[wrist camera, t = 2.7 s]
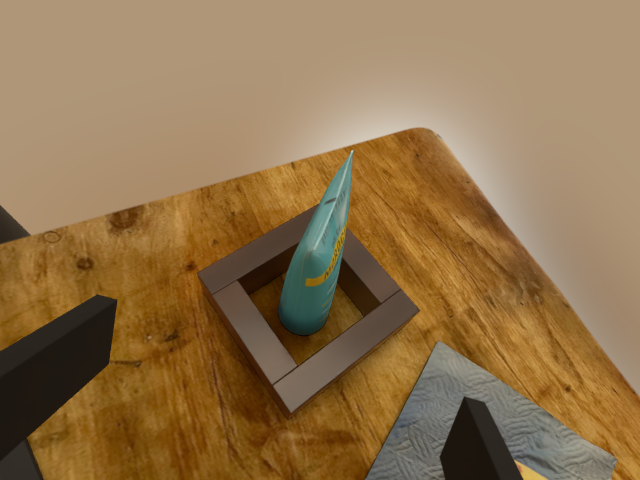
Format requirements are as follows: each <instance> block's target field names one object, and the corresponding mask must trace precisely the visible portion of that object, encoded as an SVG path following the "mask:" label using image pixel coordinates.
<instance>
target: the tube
mask: <svg viewBox="0 0 640 480" xmlns="http://www.w3.org/2000/svg"><path fill="white" fill-rule="evenodd" d="M352 155H353V150H352V151H351V154H350V156H349V157H348V158H347V160H346V161H345V162H344V164H343V165H342V167H341V168H340V169H339V171H338V172H337V174H336V175H335V177H334V178H333V180H332V181H331V183H330V185H329V187H328V188H327V190H326V192H325V194H324V196H323V198H322V200H321V201H320V203H319V205H318V207H317V209H316V211H315V213H314V215H313V217H312V219H311V221H310V223H309V225H308V227H307V229H306V231H305V233H304V235H303V237H302V239H301V241H300V243H299V245H298V247H297V249H296V251H295V253H294V256H293V258H292V260H291V263H290V266H289V269H288V272H287V275H286V278H285V282H284V286H283V289H282V294H281V298H280V303H279V309H278V313H279V318H280V321H281V322H282V324H283V326H284V327H285V328H286V329H287V330H289V331H290V332H292V333H294V334H297V335H310V334H313V333H315V332H317V331H319V330H320V329H321V328H322V327H323V326H324V324H325V322H326V320H327V318H328V315H329V311H330V308H331V304H332V301H333V297H334V293H335V288H336V284H337V279H338V274H339V269H340V264H341V258H342V253H343V247H344V241H345V235H346V228H347V219H348V210H349V200H350V188H351V174H352Z"/></svg>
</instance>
